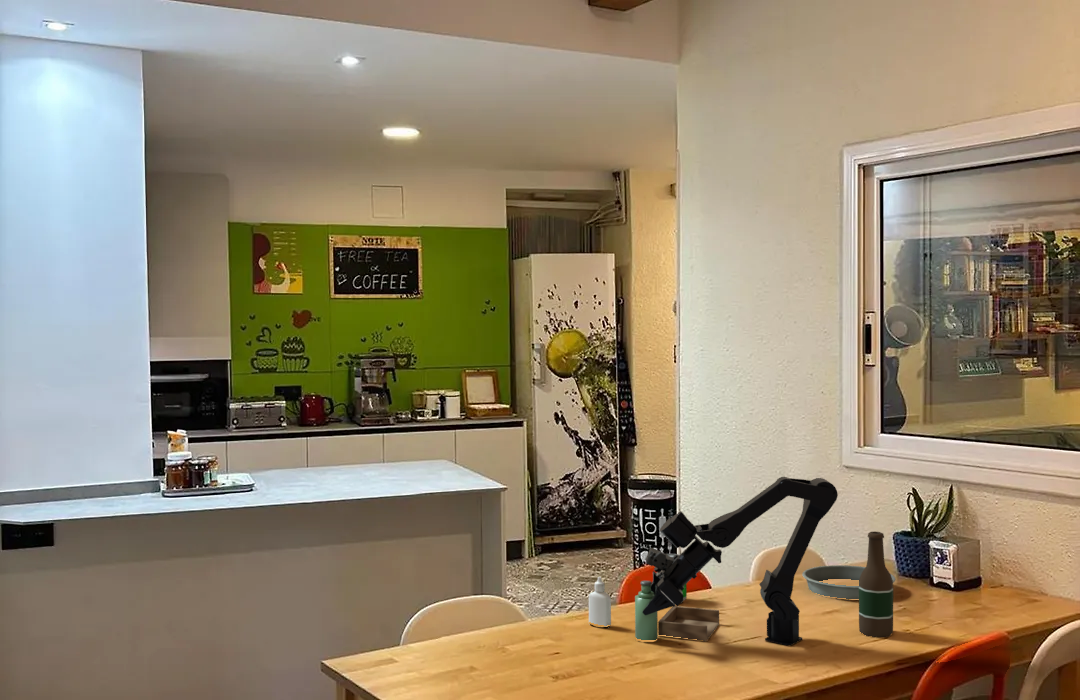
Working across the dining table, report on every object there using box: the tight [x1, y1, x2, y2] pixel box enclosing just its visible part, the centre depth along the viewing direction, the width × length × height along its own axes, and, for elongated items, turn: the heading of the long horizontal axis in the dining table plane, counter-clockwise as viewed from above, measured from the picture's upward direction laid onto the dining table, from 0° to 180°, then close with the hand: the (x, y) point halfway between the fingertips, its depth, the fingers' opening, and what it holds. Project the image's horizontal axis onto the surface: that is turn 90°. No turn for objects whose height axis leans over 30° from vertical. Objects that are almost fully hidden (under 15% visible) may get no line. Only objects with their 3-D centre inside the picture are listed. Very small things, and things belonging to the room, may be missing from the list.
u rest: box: [658, 605, 720, 642], centre depth 245 cm, size 12×15×4 cm
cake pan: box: [801, 564, 896, 599], centre depth 280 cm, size 25×25×4 cm
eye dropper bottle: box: [588, 576, 612, 626], centre depth 249 cm, size 4×6×12 cm
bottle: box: [634, 580, 659, 640], centre depth 238 cm, size 5×5×14 cm
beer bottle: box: [858, 531, 894, 638], centre depth 241 cm, size 8×8×24 cm
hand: (642, 608), depth 238 cm, fingers open, 9 cm apart
